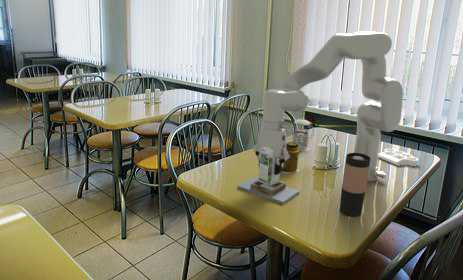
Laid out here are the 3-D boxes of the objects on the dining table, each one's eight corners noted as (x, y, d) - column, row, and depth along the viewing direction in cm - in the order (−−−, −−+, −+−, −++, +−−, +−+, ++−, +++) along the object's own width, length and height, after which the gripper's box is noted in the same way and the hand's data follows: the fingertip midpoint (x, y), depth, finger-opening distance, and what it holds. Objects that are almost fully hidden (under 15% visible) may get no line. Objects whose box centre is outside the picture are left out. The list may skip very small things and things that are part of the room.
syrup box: (257, 181, 137) (259, 144, 133) (268, 177, 141) (270, 141, 137) (268, 186, 133) (271, 148, 129) (279, 182, 137) (282, 145, 133)
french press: (287, 145, 193) (291, 98, 185) (309, 145, 194) (314, 98, 186) (292, 151, 183) (297, 102, 176) (315, 151, 185) (320, 102, 177)
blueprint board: (299, 193, 137) (299, 190, 137) (282, 204, 128) (283, 201, 128) (255, 178, 149) (255, 176, 148) (237, 188, 140) (237, 185, 139)
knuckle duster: (372, 156, 181) (393, 153, 187) (402, 169, 166) (424, 165, 172) (373, 150, 180) (394, 147, 186) (403, 162, 165) (425, 158, 171)
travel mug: (336, 205, 128) (343, 152, 122) (358, 206, 128) (366, 153, 122) (341, 216, 121) (349, 160, 115) (365, 217, 121) (374, 161, 115)
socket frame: (285, 187, 139) (286, 183, 138) (272, 196, 132) (272, 191, 131) (264, 180, 144) (264, 176, 144) (250, 188, 137) (250, 183, 136)
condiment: (301, 171, 159) (303, 144, 155) (286, 174, 154) (288, 147, 151) (289, 165, 164) (292, 140, 161) (275, 168, 160) (277, 142, 156)
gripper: (299, 127, 128) (294, 174, 134) (258, 118, 138) (255, 163, 144) (288, 131, 123) (284, 180, 128) (247, 122, 133) (244, 168, 138)
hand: (269, 171), depth 136 cm, fingers closed on syrup box, 6 cm apart
